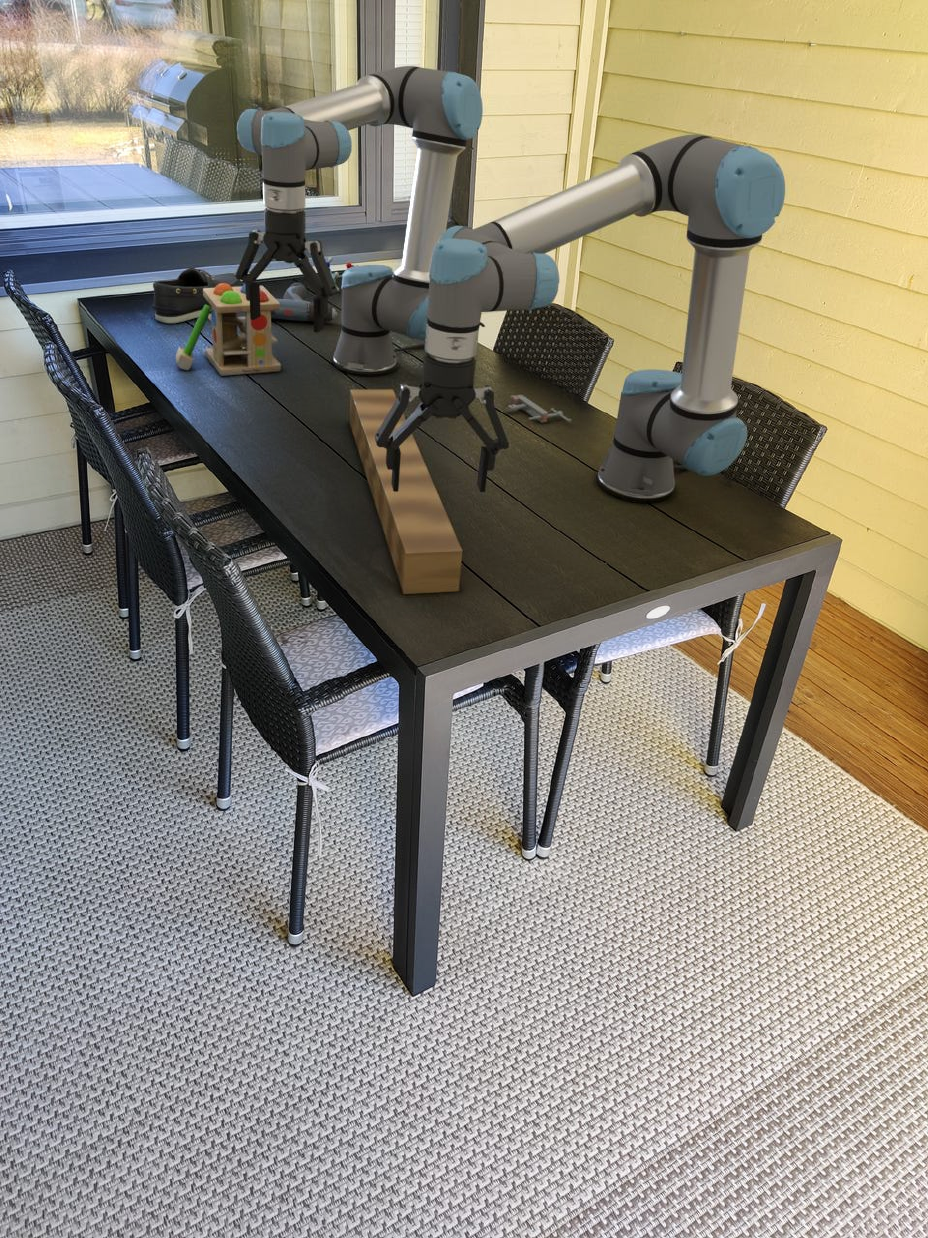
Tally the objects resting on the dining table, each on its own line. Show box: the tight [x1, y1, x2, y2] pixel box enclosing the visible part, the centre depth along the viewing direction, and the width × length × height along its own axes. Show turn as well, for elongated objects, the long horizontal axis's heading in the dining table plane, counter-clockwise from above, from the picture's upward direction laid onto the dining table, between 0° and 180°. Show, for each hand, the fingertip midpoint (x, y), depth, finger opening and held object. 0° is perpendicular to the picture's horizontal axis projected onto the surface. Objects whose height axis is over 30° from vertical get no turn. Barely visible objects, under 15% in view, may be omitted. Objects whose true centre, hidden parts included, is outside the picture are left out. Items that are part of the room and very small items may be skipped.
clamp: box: [506, 394, 572, 424], centre depth 219 cm, size 15×2×10 cm
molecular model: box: [326, 256, 359, 292], centre depth 287 cm, size 12×10×10 cm
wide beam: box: [349, 388, 463, 595], centre depth 181 cm, size 67×9×8 cm, turn 13°
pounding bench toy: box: [174, 283, 282, 377], centre depth 225 cm, size 23×14×18 cm, turn 116°
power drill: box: [271, 282, 338, 322], centre depth 265 cm, size 5×19×20 cm
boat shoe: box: [152, 267, 243, 324], centre depth 261 cm, size 13×33×10 cm, turn 147°
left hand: (286, 324), depth 190 cm, fingers open, 13 cm apart
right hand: (438, 488), depth 152 cm, fingers open, 13 cm apart
